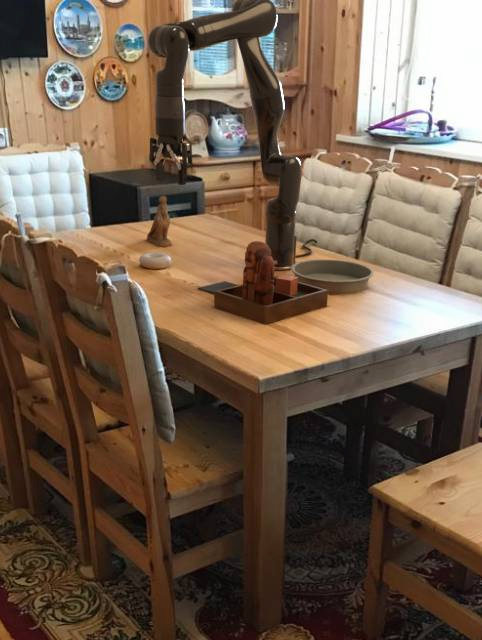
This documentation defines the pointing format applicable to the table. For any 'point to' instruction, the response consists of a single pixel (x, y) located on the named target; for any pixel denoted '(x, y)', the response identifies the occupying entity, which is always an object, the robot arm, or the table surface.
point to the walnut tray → (280, 306)
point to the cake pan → (333, 275)
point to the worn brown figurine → (160, 224)
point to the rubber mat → (216, 287)
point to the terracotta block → (287, 284)
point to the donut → (155, 260)
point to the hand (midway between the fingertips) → (171, 182)
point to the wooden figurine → (258, 274)
